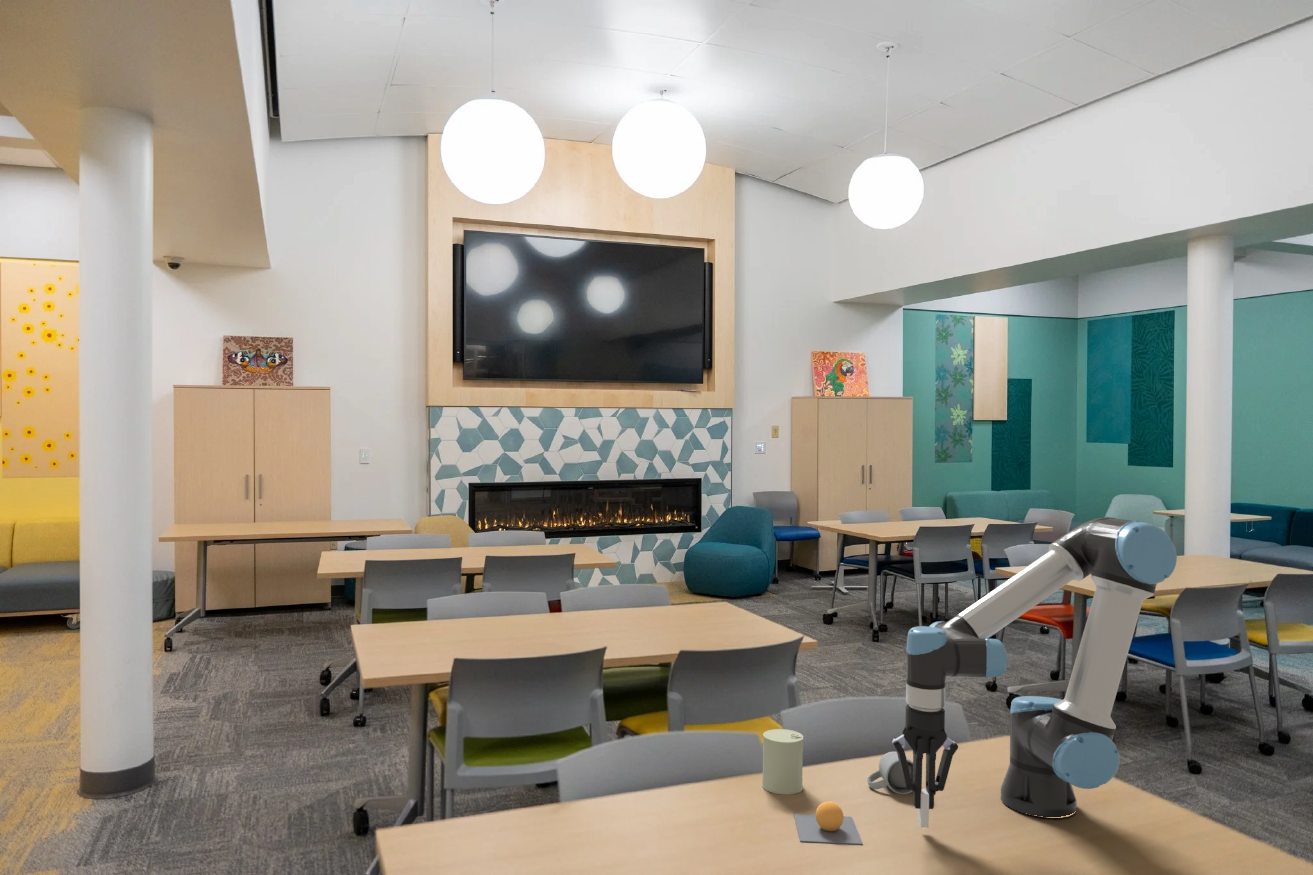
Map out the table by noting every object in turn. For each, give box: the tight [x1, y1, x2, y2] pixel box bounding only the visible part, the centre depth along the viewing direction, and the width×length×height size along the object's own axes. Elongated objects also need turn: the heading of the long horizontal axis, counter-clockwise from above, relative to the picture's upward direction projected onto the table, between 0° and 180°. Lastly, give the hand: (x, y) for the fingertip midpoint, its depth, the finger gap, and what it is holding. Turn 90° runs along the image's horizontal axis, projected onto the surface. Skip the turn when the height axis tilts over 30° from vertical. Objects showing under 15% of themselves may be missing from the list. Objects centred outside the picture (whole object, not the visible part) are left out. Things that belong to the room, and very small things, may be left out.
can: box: [761, 728, 805, 796], centre depth 193 cm, size 9×9×12 cm
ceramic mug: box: [867, 751, 913, 795], centre depth 194 cm, size 11×8×8 cm
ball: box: [815, 800, 844, 831], centre depth 172 cm, size 6×6×6 cm
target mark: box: [793, 813, 863, 845], centre depth 172 cm, size 12×12×1 cm
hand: (923, 824), depth 171 cm, fingers closed
